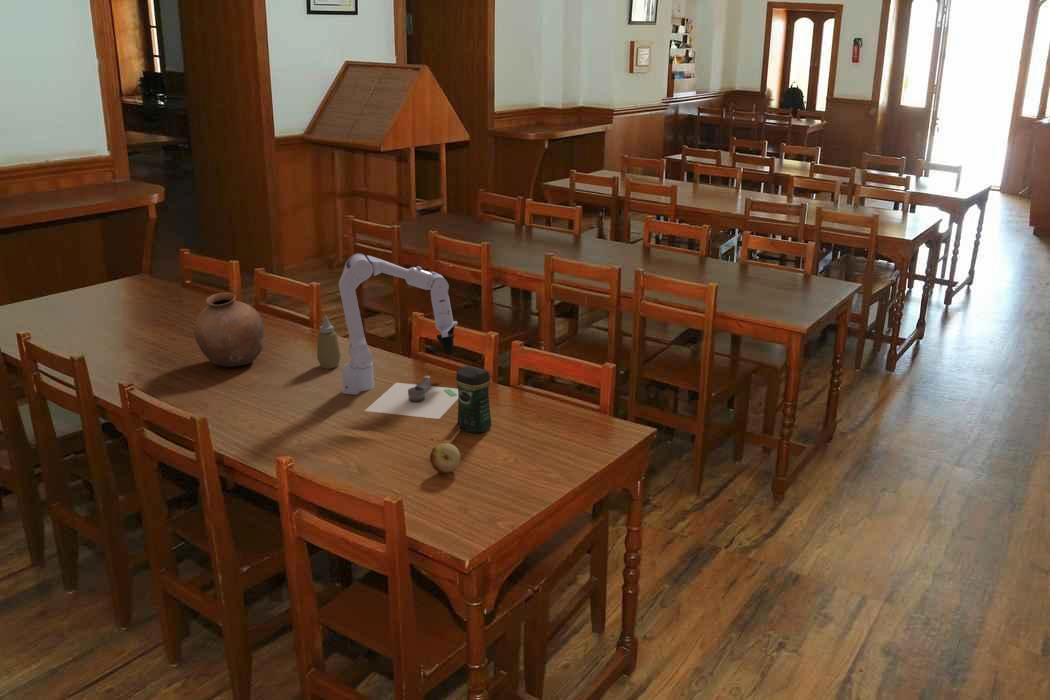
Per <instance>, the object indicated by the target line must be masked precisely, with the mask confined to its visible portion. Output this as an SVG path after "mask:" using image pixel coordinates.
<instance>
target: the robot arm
mask: <svg viewBox="0 0 1050 700" xmlns="http://www.w3.org/2000/svg"><path fill="white" fill-rule="evenodd" d="M382 273H383V274H385V275H388V276H393V277H397V278H401V279H404V280H405V282H406V284H407V285H409V286H412V287H414V288H415V287H416V288H419V289H423V290H425V291H428V290H430V295H431V296H430V297H431V299H430V300H431V305H432V311H433V317H434V320H435V328H436V329H437V330H438V332H440V334H436V339H437V341H439V344H440V345H441V347H442V349H443V352H444V354H445V356H449V355H453V354H454V353H453V351H454V350H453V349H454V337H455V333H454V331H455V326H457V325H458V321H457V320H454V318H453V312H452V307H451V301H450V296H449V288H450V285H449V283H448V281H447V279H446V278H444V276H443V275H442V274H439V273H438V272H435V271H427V270H425V269H422V267H421V266H419V265H417V266H416V267H415V266H412V267H409V268H405V267H403V266H400V265H398V264H395V263H392V262H390V261H386V260H384V259H381V258H378V257H375V256H372V255H365V254H363V253H354V254H353V255H351V256H350V257H349V258H348V259H347V261H346V262H345V264H344V268H343V271H342V274H341V276H340V279H339V281H338V288H339V294H340V298H341V302H342V308H343V313H344V317H345V322H346V327H347V331H348V332H347V333H348V336H349V338H348V339H349V347H348V354H349V356H350V357H351V360H350V362H348V363H345V364H344V366H343V368H342V370H341V376H342V377H341V378H342V389H343V391H342V392H341V393H342V394H346V395H353V396H354V395H355V396H356V395H358V394H359V393H361V392H364V391H370V390H372V389H373V388H374V387H375V379H374V365H373V360H374V359H373V353H372V352H371V351H370V349H369V346H368V343H367V340H366V336H365V333H364V327H363V322H362V318H361V311H360V308H359V303H358V297H357V291H356V290H357V288H359V286H360V284H362V283H363V282H365V281H367V280H368V279H370V278H371V276H373V277H374V276H375V277H376V276H377V275H380V274H382Z"/></svg>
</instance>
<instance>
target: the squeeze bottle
mask: <svg viewBox="0 0 1050 700" xmlns="http://www.w3.org/2000/svg"><path fill="white" fill-rule="evenodd" d="M316 339H317V343H316V344H317V346H316V347H317V348H316V349H317V350H316V352H317V353H316V355H317V356H316V358H317V359H316V360H317V361H318V363H319V365H320V367H321V369H324V368H325V369H326V370H329V369H330V370H331V368H332V369H335V367H336V368H337V367H338V366H339V365H340V361H341V357H342V356H341V349H340V344H339V338H338V333H337V332H336V331H335V329H334V325H332V324H331V323H330V320H329V318H328V316H327V315H324V316H323V321H322V325H320V326H319V332H318V333H317V338H316Z"/></svg>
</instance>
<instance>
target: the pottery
mask: <svg viewBox="0 0 1050 700" xmlns="http://www.w3.org/2000/svg"><path fill="white" fill-rule="evenodd" d="M236 297H237V296H236V295H235V293H233V292H220V293H219V292H218V293H214V294H211V295H210V296H208V297H206V300H205V303H206V307H205V308H203V309H202V311H201V312H199V314H198V316H197V317H196V320H195V322H194V328H193V329H194V330H193V333H194V338H195V341H196V343H197V346H198V347H199V349H200V350H201V352H202V353H203V355H204V356H205V357H206V359H207V360H209V361H210V362H211V363H213V364H215V365H217V366H221V367H225V368H227V367H228V368H231V367H233V368H234V367H235V368H236V367H241V366H246V365H248V364H251V363H252V362H253V361H255V360H256V359H257V358H258V356H259V355H260V354H261V352H262V351H263V348H264V343H265V331H264V330H265V329H264V321H263V320H262V316H261V315H260V313H259V312H258V311H257V310H256V309H255V308H254V307H253V306H251V305H250V304H248V303H245V302H243V301H239V300H236Z"/></svg>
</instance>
